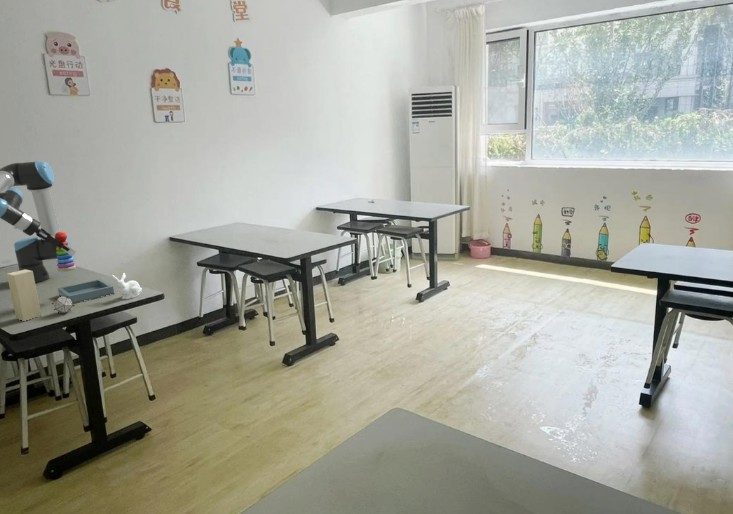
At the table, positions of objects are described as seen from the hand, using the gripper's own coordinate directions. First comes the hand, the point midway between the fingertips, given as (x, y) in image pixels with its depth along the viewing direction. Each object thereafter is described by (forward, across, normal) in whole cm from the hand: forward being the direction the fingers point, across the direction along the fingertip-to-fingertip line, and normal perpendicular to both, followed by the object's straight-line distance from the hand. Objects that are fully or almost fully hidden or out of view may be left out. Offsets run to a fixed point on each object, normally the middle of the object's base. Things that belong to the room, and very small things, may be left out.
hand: (72, 252), depth 263 cm
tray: (+18, 0, -14) cm, 22 cm away
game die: (+8, +22, -24) cm, 33 cm away
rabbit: (+27, +21, -4) cm, 35 cm away
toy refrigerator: (-2, +16, -33) cm, 37 cm away
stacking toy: (+3, 0, -8) cm, 9 cm away
